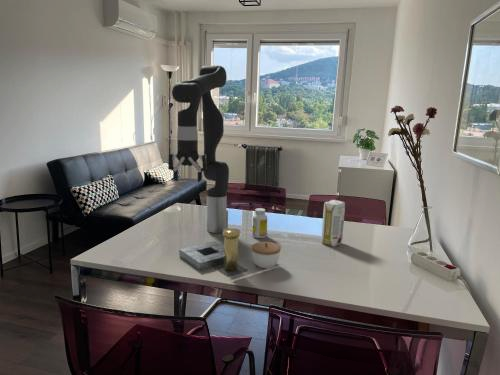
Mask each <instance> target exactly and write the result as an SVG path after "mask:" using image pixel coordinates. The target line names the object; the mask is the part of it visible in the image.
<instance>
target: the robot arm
mask: <svg viewBox="0 0 500 375" xmlns="http://www.w3.org/2000/svg"><path fill="white" fill-rule="evenodd" d="M227 77H228V76H227V71H226V69H225V67H223V66H222V65H203V66H201V67H200V70H199V75H198V76H197V75H196V76H195V77H193V78H192V79H190V80H189V79H188V80H183V81H179V82H176V83H175V84H174V86H172V89H171V96H172V98H173V100H174V101H175V102H177V103H179V104H180V103H181V104H182V103H183V104H185V103H186V104H189V105H188V107H187V108H185V109H180V110H178V112H177V132H176V140H177V141H176V142H177V143H176V144H177V146H176V149H177V150H176V151H177V153H173V152H172V153H169V154H168V165H167V166H168V170H169V171H172V172H173V180H174V181H175V182H179V168H180V167H181V166H183V167H184V166H185V167H186V166H188V167H192V166H193V167H194V168H195V169H196V171H197V183H200V182H201V181H202V180H203V177H204V178H205V179H206V180H208V181H214V186H213V187H209V188H208V189H207V190H206V231H207V232H209V233H213V234H219V233H220V234H221V233H222V234H223V230H224V229H228V228H229V211H228V210H227V201H228V200H227V197H228V196H227V195H228V194H227V193H228V190H229V180H230V179H229V178H230V168H229V166H228V164H227V163H226V162H225V161H217V160H216V153H217V152H216V151H217V148H218V146H219V144H220V141H221V140H222V138H223V136H224V125H225V124H224V116H223V114H222V113H221V111H220V109H219V108H218V106H217V105H216V103H215V101H214V100H213V97H212V94H211V93H212V92H211V91H212V90H214V89H218V88H223V87H224V86H225V85H226V83H227ZM200 103H201V105H202V128H203V130H202V132H203V154H199V149H198V147H199V143H198V141H199V140H198V138H199V136H198V135H199V134H198V133H199V132H198V113H199V112H198V111H199V107H200ZM175 159H177V160H178V162H177V163H176V164H175V166H174V161H175ZM199 159H200V161H202V162H201V163H202V166H201V165H200V163H198V160H199Z"/></svg>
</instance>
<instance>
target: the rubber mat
mask: <svg viewBox="0 0 500 375" xmlns="http://www.w3.org/2000/svg"><path fill="white" fill-rule="evenodd" d="M213 269H215V270H216V271H218V272H220V273H221V274H222V275H224V276H226V277H227V278H229V277H232V276H235V275H239V274H243V273H245V272H248V271H249V269H247V268H245V267H243V265H240V264H238V269H237V270H236V271H234V272H228V271H225V270H224V265H220V266H217V267H213Z"/></svg>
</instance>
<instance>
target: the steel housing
mask: <svg viewBox="0 0 500 375" xmlns="http://www.w3.org/2000/svg"><path fill="white" fill-rule="evenodd" d="M178 253H179V255H178V257H179V258H181V259H182V260H183V261H185V262H186V263H188V264H190V266H192V267H194V268H195V269H197V270H198V271H199V272H201V271H205V270H208V269H209V270H210V269H212V268H213V269H214V267H218V266H221V265H224V245H223V244H220V243H218V242H216V241H214V240H213V241H209V242H205V243H204V242H203V243H201V244H197V245H196V244H195V245H191V246H187V247H183V248H179V252H178Z"/></svg>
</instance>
